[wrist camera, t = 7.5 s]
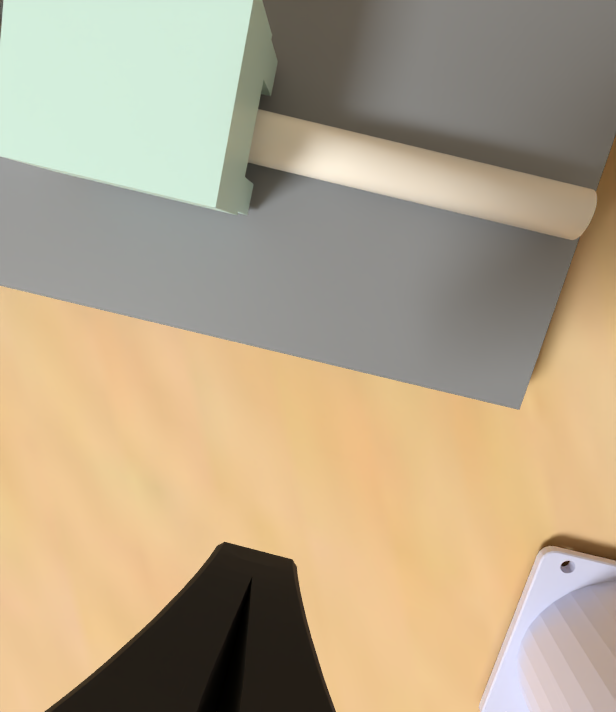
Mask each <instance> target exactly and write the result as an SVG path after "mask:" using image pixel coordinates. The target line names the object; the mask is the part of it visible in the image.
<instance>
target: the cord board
mask: <svg viewBox="0 0 616 712" xmlns="http://www.w3.org/2000/svg"><path fill="white" fill-rule="evenodd" d="M0 1H1V2H2V3H3V0H0ZM262 1H263V5H264V8H265V12H266V15H267V19H268V22H269V26H270V29H271V33H272V39H271V40H272V44H273V47H274V51H275V54H276V57H277V61H278V63H277V68H276V73H275V78H274V83H273V88H272V94H271V96H267V95H263V94H261V96H260V101H259V106H258V109H260V110H265V111H269V112H273V113H277V114H281V115H285V116H290V117H294V118H298V119H302V120H306V121H310V122H315V123H319V124H323V125H327V126H331V127H335V128H339V129H344V130H348V131H352V132H356V133H360V134H364V135H369V136H373V137H377V138H381V139H385V140H389V141H394V142H398V143H402V144H406V145H410V146H414V147H419V148H423V149H427V150H431V151H435V152H439V153H444V154H448V155H452V156H456V157H460V158H464V159H468V160H473V161H477V162H481V163H485V164H489V165H493V166H498V167H502V168H506V169H510V170H514V171H518V172H523V173H527V174H531V175H535V176H539V177H543V178H548V179H552V180H556V181H560V182H564V183H568V184H573V185H577V186H581V187H585V188H589V189H593V190H595V192H596V190H597V187H598V184H599V181H600V178H601V175H602V172H603V170H604V167H605V164H606V161H607V158H608V155H609V153H610V150H611V147H612V144H613V141H614V138H615V135H616V0H262ZM245 177H246V178H247V179H248V180H249V181H251V182H252V183H253V184H254V185H253V190H252V195H251V200H250V205H249V210H248V215H244V214H240V213H238V215H234V214H230V213H225V212H221V211H217V210H213V209H209V208H205V207H200V206H196V205H192V204H188V203H184V202H180V201H175V200H171V199H167V198H163V197H159V196H154V195H150V194H146V193H142V192H138V191H134V190H129V189H125V188H121V187H117V186H113V185H109V184H104V183H100V182H96V181H92V180H88V179H84V178H79V177H75V176H71V175H67V174H63V173H59V172H55V171H51V170H47V169H44V168H40V167H37V166H33V165H29V164H26V163H22V162H19V161H15V160H11V159H8V158H4V157H1V156H0V286H4V287H8V288H12V289H17V290H21V291H25V292H29V293H33V294H38V295H42V296H46V297H50V298H54V299H58V300H63V301H67V302H71V303H75V304H79V305H84V306H88V307H92V308H96V309H100V310H104V311H109V312H113V313H117V314H121V315H125V316H129V317H134V318H138V319H142V320H146V321H150V322H155V323H159V324H163V325H167V326H171V327H175V328H180V329H184V330H188V331H192V332H196V333H201V334H205V335H209V336H213V337H217V338H221V339H226V340H230V341H234V342H238V343H242V344H246V345H251V346H255V347H259V348H263V349H267V350H272V351H276V352H280V353H284V354H288V355H292V356H297V357H301V358H305V359H309V360H313V361H318V362H322V363H326V364H330V365H334V366H338V367H343V368H347V369H351V370H355V371H359V372H363V373H368V374H372V375H376V376H380V377H384V378H389V379H393V380H397V381H401V382H405V383H409V384H414V385H418V386H422V387H426V388H430V389H435V390H439V391H443V392H447V393H451V394H455V395H460V396H464V397H468V398H472V399H476V400H480V401H485V402H489V403H493V404H497V405H501V406H506V407H510V408H514V409H518V410H519V409H520V406H521V404H522V401H523V398H524V395H525V392H526V389H527V386H528V384H529V381H530V378H531V375H532V372H533V369H534V366H535V364H536V361H537V358H538V355H539V352H540V349H541V346H542V344H543V341H544V338H545V335H546V332H547V329H548V327H549V324H550V321H551V318H552V315H553V312H554V309H555V307H556V304H557V301H558V298H559V295H560V292H561V289H562V287H563V284H564V281H565V278H566V275H567V272H568V269H569V267H570V264H571V261H572V258H573V255H574V252H575V249H576V247H577V244H578V241H579V238H580V237H578V238H577V239H575V240H569V239H564V238H560V237H556V236H552V235H548V234H544V233H539V232H535V231H531V230H527V229H523V228H519V227H514V226H510V225H506V224H502V223H498V222H494V221H490V220H485V219H481V218H477V217H473V216H469V215H465V214H460V213H456V212H452V211H448V210H444V209H440V208H435V207H431V206H427V205H423V204H419V203H415V202H410V201H406V200H402V199H398V198H394V197H390V196H385V195H381V194H377V193H373V192H369V191H365V190H360V189H356V188H352V187H348V186H344V185H340V184H335V183H331V182H327V181H323V180H319V179H315V178H310V177H306V176H302V175H298V174H294V173H290V172H285V171H281V170H277V169H273V168H269V167H265V166H260V165H256V164H252V163H247V168H246V174H245Z"/></svg>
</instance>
